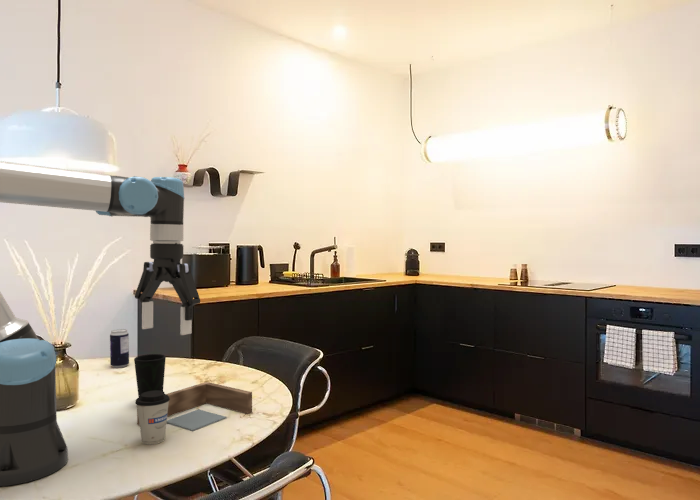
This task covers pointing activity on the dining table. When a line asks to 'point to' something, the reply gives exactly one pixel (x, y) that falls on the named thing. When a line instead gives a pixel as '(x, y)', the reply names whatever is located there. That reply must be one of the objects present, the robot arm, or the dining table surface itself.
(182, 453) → the dining table surface
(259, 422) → the dining table surface
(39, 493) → the dining table surface
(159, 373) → the cup
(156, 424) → the coffee cup
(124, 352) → the beverage can
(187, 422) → the pad
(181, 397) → the corner wall
